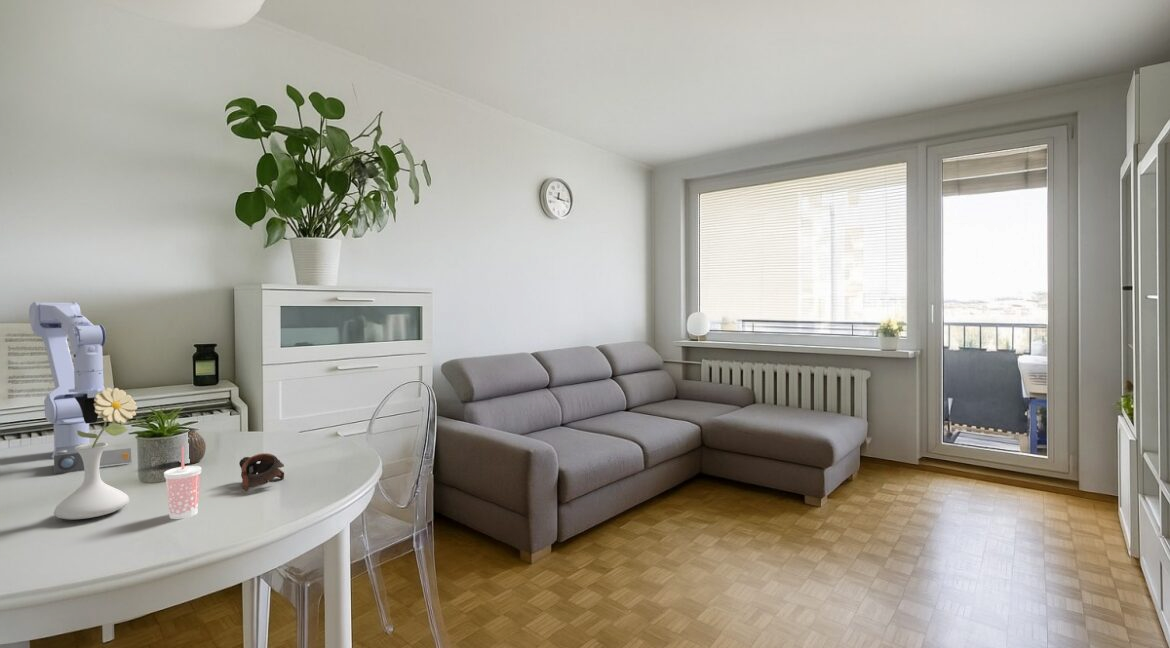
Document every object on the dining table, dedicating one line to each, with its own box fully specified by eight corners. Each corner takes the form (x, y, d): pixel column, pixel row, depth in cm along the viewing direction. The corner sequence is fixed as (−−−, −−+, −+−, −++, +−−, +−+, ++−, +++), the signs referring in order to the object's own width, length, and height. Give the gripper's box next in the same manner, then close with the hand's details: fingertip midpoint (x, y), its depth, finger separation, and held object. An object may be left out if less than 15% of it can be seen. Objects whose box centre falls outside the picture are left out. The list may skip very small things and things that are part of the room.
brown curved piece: (297, 481, 134) (291, 456, 130) (265, 510, 127) (257, 485, 122) (257, 464, 137) (250, 440, 133) (224, 491, 130) (215, 466, 125)
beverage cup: (180, 508, 115) (179, 441, 114) (209, 509, 114) (208, 441, 114) (156, 520, 108) (155, 449, 108) (187, 520, 108) (186, 449, 108)
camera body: (57, 464, 144) (56, 445, 144) (88, 460, 148) (87, 441, 148) (54, 475, 136) (53, 454, 135) (87, 470, 140) (86, 450, 139)
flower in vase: (65, 530, 104) (61, 396, 103) (45, 517, 110) (41, 390, 109) (149, 508, 115) (146, 387, 114) (126, 497, 121) (123, 382, 120)
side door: (131, 461, 146) (131, 447, 146) (131, 462, 145) (130, 448, 145) (90, 466, 142) (89, 451, 142) (89, 467, 140) (88, 452, 140)
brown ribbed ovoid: (212, 459, 150) (211, 426, 150) (191, 466, 144) (191, 432, 143) (188, 458, 151) (188, 426, 151) (167, 465, 144) (166, 432, 144)
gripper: (65, 370, 148) (67, 421, 149) (70, 374, 138) (72, 428, 139) (100, 368, 153) (102, 417, 154) (107, 371, 143) (109, 424, 144)
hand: (90, 422), depth 146 cm, fingers closed
